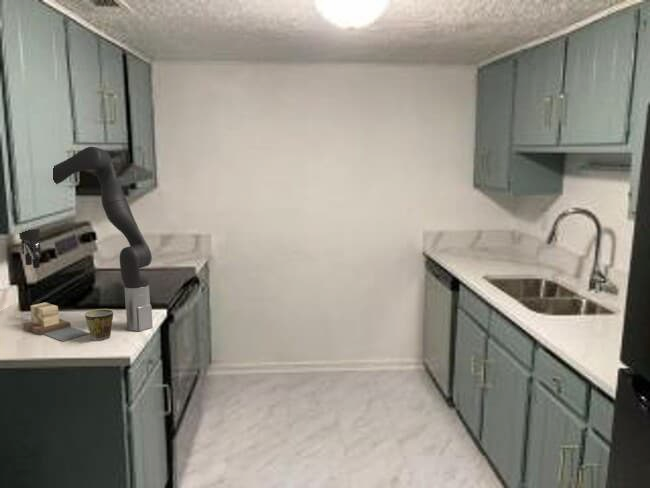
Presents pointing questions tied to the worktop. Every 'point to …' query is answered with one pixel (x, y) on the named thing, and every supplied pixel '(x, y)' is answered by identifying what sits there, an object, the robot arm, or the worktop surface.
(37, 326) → the brown flat slab
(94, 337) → the ceramic cup
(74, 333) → the mat
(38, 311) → the block
